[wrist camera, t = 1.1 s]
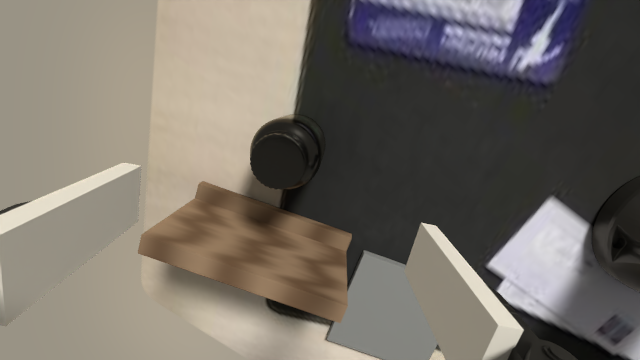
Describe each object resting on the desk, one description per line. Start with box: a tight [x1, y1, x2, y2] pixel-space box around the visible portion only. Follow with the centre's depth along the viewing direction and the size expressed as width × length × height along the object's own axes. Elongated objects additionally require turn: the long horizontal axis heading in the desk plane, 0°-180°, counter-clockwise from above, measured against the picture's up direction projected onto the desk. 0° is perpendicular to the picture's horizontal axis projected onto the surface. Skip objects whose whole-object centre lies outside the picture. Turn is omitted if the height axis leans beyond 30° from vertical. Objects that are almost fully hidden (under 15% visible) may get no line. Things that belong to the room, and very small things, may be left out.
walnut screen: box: [138, 182, 352, 323], centre depth 35 cm, size 20×6×12 cm, turn 71°
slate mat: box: [327, 250, 438, 360], centre depth 42 cm, size 14×14×1 cm
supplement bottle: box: [250, 114, 325, 189], centre depth 32 cm, size 7×7×12 cm
